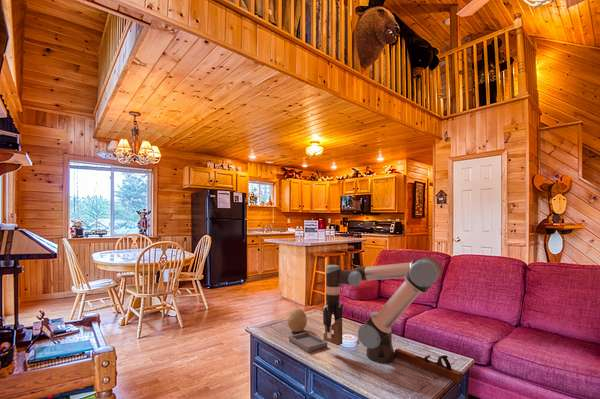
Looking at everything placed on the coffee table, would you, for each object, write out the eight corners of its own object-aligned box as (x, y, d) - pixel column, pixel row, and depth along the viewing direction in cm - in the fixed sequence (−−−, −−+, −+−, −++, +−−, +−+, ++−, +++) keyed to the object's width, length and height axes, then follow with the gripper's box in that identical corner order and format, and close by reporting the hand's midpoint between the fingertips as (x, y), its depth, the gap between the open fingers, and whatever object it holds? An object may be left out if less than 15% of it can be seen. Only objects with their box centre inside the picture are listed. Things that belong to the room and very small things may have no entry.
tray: (327, 347, 179) (327, 342, 180) (307, 353, 171) (307, 347, 172) (307, 336, 195) (307, 331, 195) (288, 341, 187) (289, 336, 187)
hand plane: (464, 380, 147) (464, 358, 147) (460, 384, 143) (459, 362, 144) (397, 355, 172) (398, 336, 172) (392, 358, 168) (393, 339, 169)
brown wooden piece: (338, 346, 165) (338, 311, 166) (323, 340, 173) (323, 307, 174) (342, 344, 168) (342, 310, 169) (327, 338, 175) (327, 306, 176)
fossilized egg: (283, 330, 203) (283, 307, 204) (297, 326, 212) (298, 304, 213) (296, 336, 194) (296, 312, 195) (310, 332, 203) (311, 308, 203)
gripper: (339, 290, 180) (339, 331, 178) (316, 294, 170) (316, 338, 169) (348, 292, 174) (348, 335, 172) (325, 297, 164) (325, 342, 162)
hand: (332, 336), depth 170 cm, fingers closed on brown wooden piece, 4 cm apart
